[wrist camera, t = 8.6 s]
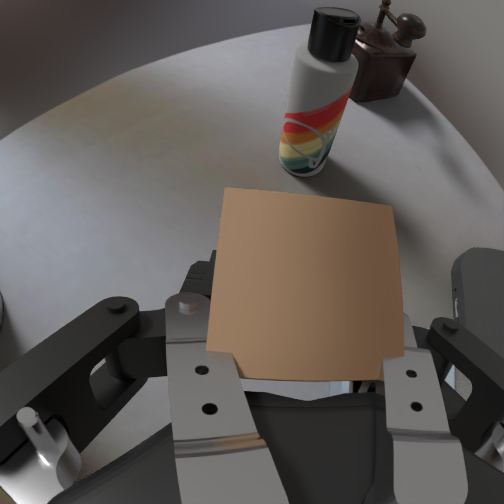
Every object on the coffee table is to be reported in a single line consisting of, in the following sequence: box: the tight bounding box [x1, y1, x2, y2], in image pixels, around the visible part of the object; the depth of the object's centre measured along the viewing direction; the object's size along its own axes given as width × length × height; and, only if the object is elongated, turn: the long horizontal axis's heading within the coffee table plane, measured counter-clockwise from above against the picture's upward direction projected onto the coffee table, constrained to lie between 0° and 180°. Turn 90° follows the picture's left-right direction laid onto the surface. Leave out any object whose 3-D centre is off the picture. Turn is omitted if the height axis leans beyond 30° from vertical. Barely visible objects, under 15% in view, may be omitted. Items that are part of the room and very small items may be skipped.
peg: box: [206, 187, 404, 382], centre depth 11 cm, size 4×4×10 cm
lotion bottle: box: [279, 7, 361, 177], centre depth 28 cm, size 6×6×20 cm
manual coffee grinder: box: [349, 0, 426, 102], centre depth 36 cm, size 16×11×18 cm
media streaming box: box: [451, 248, 504, 359], centre depth 29 cm, size 15×15×3 cm
